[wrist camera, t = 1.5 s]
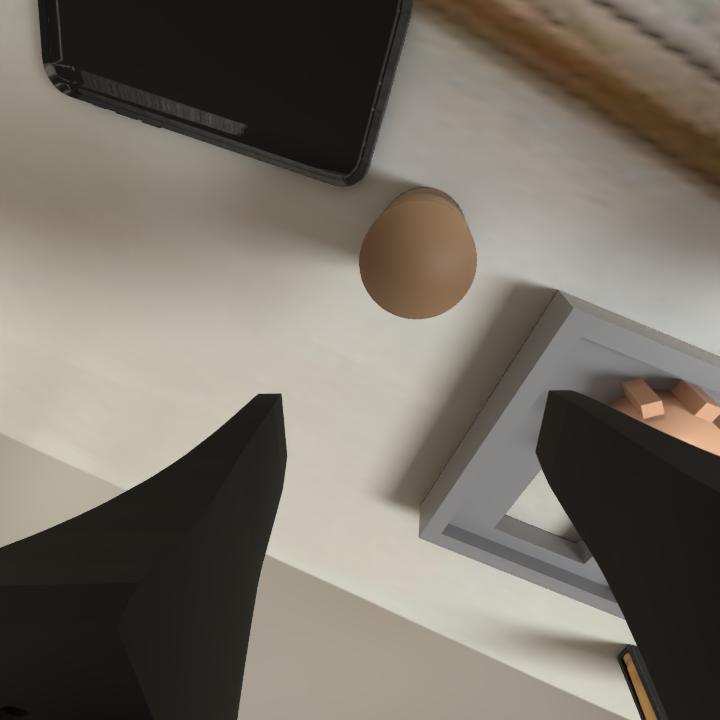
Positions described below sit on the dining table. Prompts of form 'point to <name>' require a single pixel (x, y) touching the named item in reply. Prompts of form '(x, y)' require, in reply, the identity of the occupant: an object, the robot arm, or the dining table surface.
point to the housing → (522, 427)
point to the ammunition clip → (641, 685)
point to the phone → (238, 72)
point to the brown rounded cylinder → (418, 255)
